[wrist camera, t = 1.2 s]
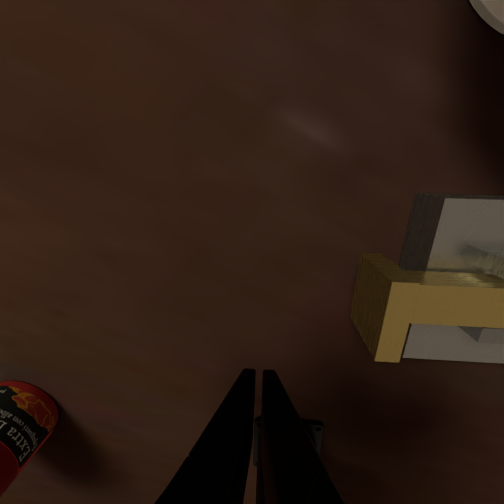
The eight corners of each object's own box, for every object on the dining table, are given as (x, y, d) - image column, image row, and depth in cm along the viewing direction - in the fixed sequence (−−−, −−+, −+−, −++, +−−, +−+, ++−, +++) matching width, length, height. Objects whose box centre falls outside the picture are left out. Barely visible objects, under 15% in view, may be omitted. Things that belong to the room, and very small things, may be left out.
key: (475, 322, 16) (539, 370, 12) (350, 316, 16) (374, 361, 13) (499, 258, 15) (579, 290, 11) (360, 252, 15) (392, 281, 11)
